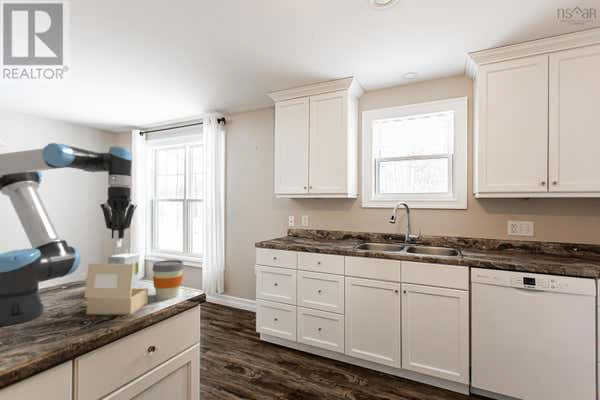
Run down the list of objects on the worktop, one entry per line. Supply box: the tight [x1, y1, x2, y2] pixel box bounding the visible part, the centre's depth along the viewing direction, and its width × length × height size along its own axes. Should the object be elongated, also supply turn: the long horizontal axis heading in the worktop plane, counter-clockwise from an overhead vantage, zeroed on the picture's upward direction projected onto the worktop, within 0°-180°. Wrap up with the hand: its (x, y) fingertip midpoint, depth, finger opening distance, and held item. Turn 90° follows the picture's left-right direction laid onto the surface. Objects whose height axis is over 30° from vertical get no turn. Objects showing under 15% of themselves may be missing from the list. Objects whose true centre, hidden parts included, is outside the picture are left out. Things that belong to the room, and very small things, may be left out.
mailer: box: [86, 288, 149, 316], centre depth 107 cm, size 16×12×6 cm
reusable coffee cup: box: [152, 259, 184, 301], centre depth 123 cm, size 13×13×15 cm
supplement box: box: [107, 252, 140, 289], centre depth 129 cm, size 10×9×17 cm
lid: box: [84, 263, 134, 299], centre depth 101 cm, size 16×12×1 cm
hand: (117, 246), depth 107 cm, fingers closed
